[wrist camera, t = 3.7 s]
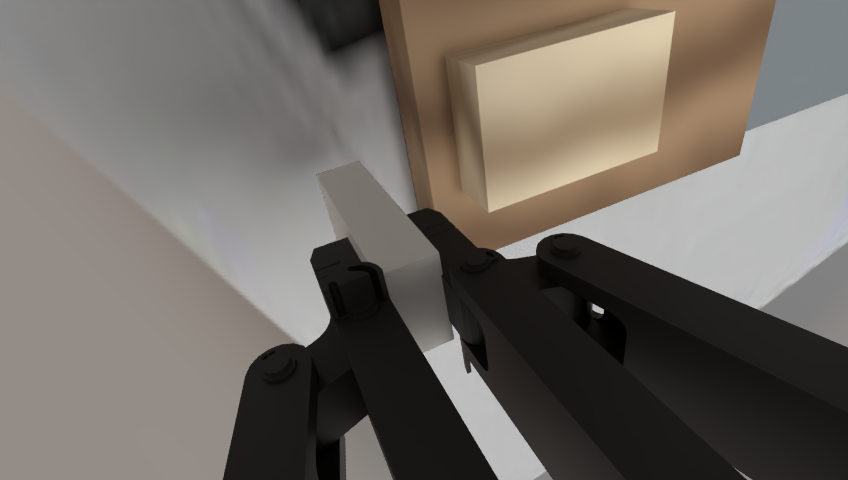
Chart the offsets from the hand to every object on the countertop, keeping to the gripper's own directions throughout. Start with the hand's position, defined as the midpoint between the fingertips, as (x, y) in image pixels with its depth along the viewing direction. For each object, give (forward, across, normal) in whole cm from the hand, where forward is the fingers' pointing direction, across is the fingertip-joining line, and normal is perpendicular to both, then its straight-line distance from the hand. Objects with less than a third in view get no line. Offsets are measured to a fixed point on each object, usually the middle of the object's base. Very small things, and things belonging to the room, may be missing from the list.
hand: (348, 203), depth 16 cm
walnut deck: (+6, +14, 0) cm, 15 cm away
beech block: (+3, +10, 0) cm, 11 cm away
